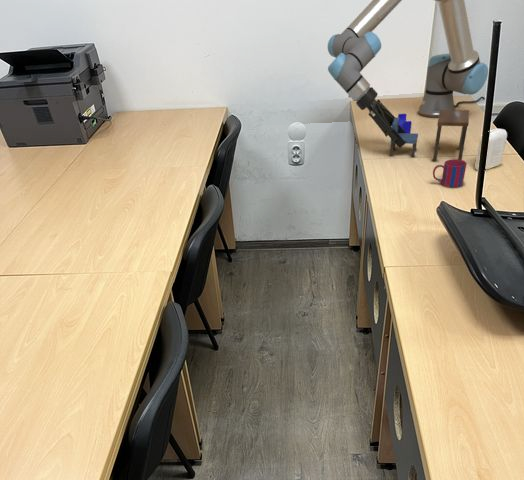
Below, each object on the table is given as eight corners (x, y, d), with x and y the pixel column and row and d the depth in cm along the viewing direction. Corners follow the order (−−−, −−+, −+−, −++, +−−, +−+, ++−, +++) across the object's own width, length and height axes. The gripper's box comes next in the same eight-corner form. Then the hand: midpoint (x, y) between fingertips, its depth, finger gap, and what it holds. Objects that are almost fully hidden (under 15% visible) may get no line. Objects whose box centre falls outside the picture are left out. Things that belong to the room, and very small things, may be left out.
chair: (389, 156, 194) (392, 123, 186) (391, 149, 199) (394, 117, 192) (414, 157, 191) (418, 124, 184) (416, 150, 197) (420, 117, 190)
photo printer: (492, 161, 183) (499, 124, 175) (502, 164, 180) (510, 127, 172) (472, 169, 179) (479, 131, 171) (482, 172, 176) (490, 134, 168)
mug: (464, 187, 167) (468, 166, 163) (432, 187, 169) (435, 166, 164) (461, 179, 172) (464, 158, 168) (429, 180, 174) (432, 159, 170)
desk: (432, 161, 187) (437, 122, 178) (434, 147, 198) (440, 109, 189) (461, 162, 184) (468, 122, 176) (462, 148, 195) (469, 110, 187)
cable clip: (393, 129, 218) (394, 114, 214) (404, 128, 218) (405, 113, 214) (398, 138, 209) (399, 122, 205) (409, 137, 208) (411, 122, 205)
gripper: (359, 94, 197) (399, 139, 203) (350, 110, 182) (392, 158, 187) (375, 79, 192) (414, 126, 198) (366, 93, 177) (409, 143, 183)
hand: (404, 141), depth 193 cm, fingers closed on chair, 8 cm apart
